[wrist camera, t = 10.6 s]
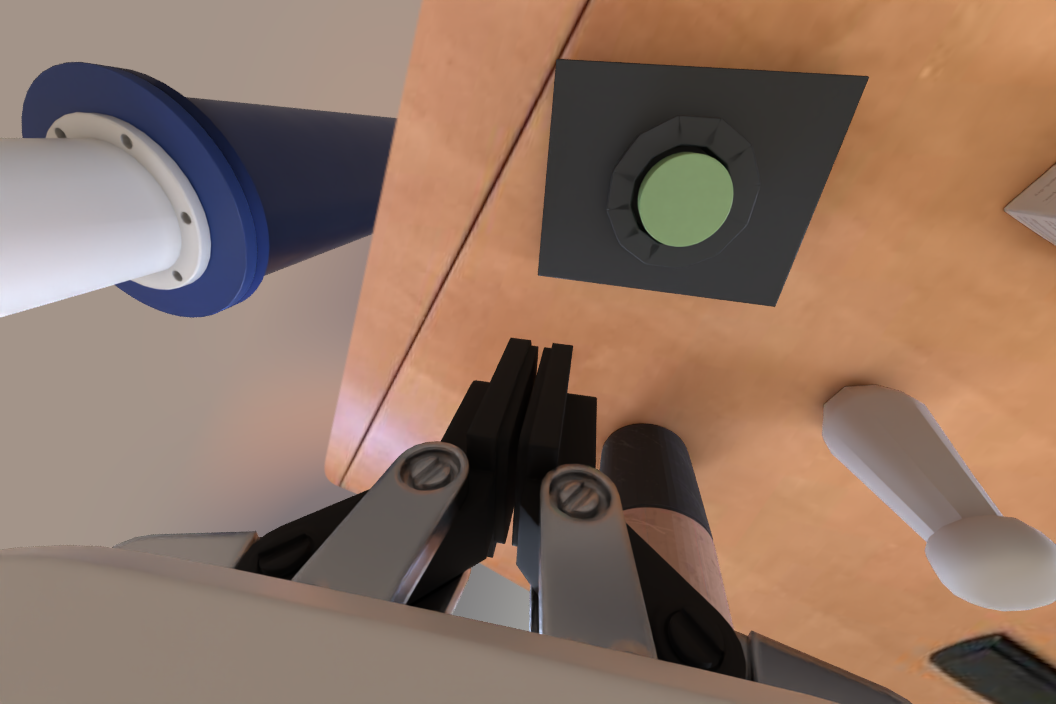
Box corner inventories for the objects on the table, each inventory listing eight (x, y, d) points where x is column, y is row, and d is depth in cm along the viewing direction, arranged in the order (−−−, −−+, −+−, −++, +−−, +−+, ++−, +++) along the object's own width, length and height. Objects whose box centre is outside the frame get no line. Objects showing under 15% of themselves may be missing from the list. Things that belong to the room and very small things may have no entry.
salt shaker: (789, 416, 29) (899, 591, 18) (855, 358, 26) (1035, 524, 15) (856, 451, 29) (1005, 646, 18) (928, 398, 26) (1159, 590, 15)
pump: (630, 233, 21) (631, 241, 19) (646, 148, 19) (650, 149, 17) (709, 241, 20) (717, 251, 18) (734, 155, 18) (746, 157, 17)
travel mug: (706, 433, 31) (819, 801, 14) (674, 498, 35) (731, 850, 18) (610, 410, 32) (604, 732, 15) (589, 476, 36) (564, 793, 18)
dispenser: (545, 262, 27) (531, 286, 23) (563, 68, 22) (550, 50, 17) (759, 289, 25) (788, 321, 21) (837, 84, 20) (898, 68, 16)
